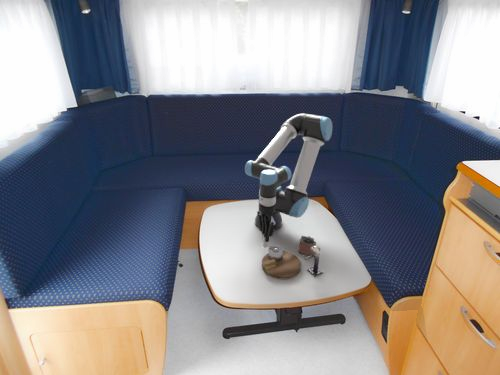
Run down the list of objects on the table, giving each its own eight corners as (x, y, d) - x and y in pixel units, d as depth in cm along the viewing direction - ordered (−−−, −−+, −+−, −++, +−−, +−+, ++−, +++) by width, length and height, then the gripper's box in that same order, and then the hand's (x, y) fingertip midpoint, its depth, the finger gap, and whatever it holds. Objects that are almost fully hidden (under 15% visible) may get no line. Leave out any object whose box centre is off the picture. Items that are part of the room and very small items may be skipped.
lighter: (315, 253, 170) (317, 236, 165) (314, 257, 167) (316, 240, 163) (299, 250, 172) (300, 233, 168) (297, 254, 169) (299, 237, 165)
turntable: (254, 261, 163) (254, 253, 161) (284, 249, 172) (285, 241, 169) (277, 284, 149) (277, 275, 147) (308, 269, 158) (310, 261, 156)
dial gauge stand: (301, 273, 157) (304, 246, 150) (315, 267, 161) (318, 241, 154) (308, 279, 153) (311, 252, 147) (323, 273, 157) (326, 246, 151)
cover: (265, 255, 164) (265, 246, 162) (277, 251, 167) (277, 242, 165) (274, 263, 159) (274, 254, 156) (286, 258, 162) (286, 250, 160)
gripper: (252, 199, 161) (251, 241, 171) (268, 211, 151) (266, 255, 161) (266, 195, 165) (264, 237, 175) (282, 207, 155) (279, 250, 165)
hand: (265, 245), depth 168 cm, fingers closed
